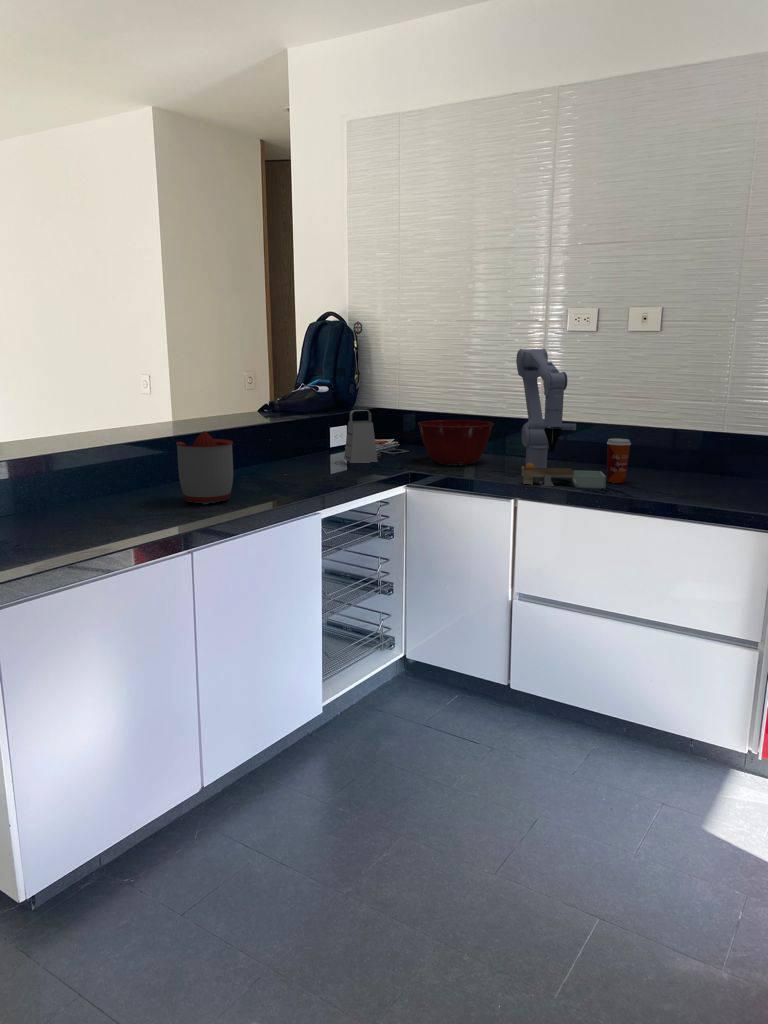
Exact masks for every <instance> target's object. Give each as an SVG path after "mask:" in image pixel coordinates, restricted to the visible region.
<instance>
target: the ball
mask: <svg viewBox="0 0 768 1024" xmlns="http://www.w3.org/2000/svg"><path fill="white" fill-rule="evenodd" d="M524 468H525V470H535V466H534V464H532V463H528V464H526V463H525V466H524Z"/></svg>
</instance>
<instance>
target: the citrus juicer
mask: <svg viewBox="0 0 768 1024" xmlns="http://www.w3.org/2000/svg"><path fill="white" fill-rule="evenodd" d="M175 444H176V450H177V466H178V469H177V470H178V478H179V484H180V488H181V491H182V494H183V496H184V499H185V500H188V501H192V502H209V501H219V500H223V499H227V498H230V496H231V492H232V488H233V483H234V459H233V458H234V457H233V444H234V441H233V440H230V439H222V438H213V437H212V436H211V435H210V434H209V433H208V432H207V431H202V432H201V433H200V434H198V436H197V437H196V439H195V440H194V441H193V443H192V445H186V443H185V442H183V441H176V443H175Z"/></svg>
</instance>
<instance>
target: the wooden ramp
mask: <svg viewBox="0 0 768 1024" xmlns="http://www.w3.org/2000/svg"><path fill="white" fill-rule="evenodd" d="M520 471H521V472H520V474H521V476H522V484H523V485H524V484H531V485H530V486H533V482H534V481H533V480H534V478H535V477H536V478H543V477H545V474H551V478H573V476H574V471H573V468H567V467H566V468H563V467H562V468H561V467H560V468H559V467H558V468H556V467H547V468H535V470H525V466H524V465H523V466H521V470H520Z"/></svg>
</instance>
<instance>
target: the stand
mask: <svg viewBox="0 0 768 1024" xmlns="http://www.w3.org/2000/svg"><path fill="white" fill-rule="evenodd" d="M538 482H539V485H540V484H541V485H540V487H550V486H554V487H555V485H554V482H553V481H552V477H551V474H545V477H542V480H539V481H538Z"/></svg>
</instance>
